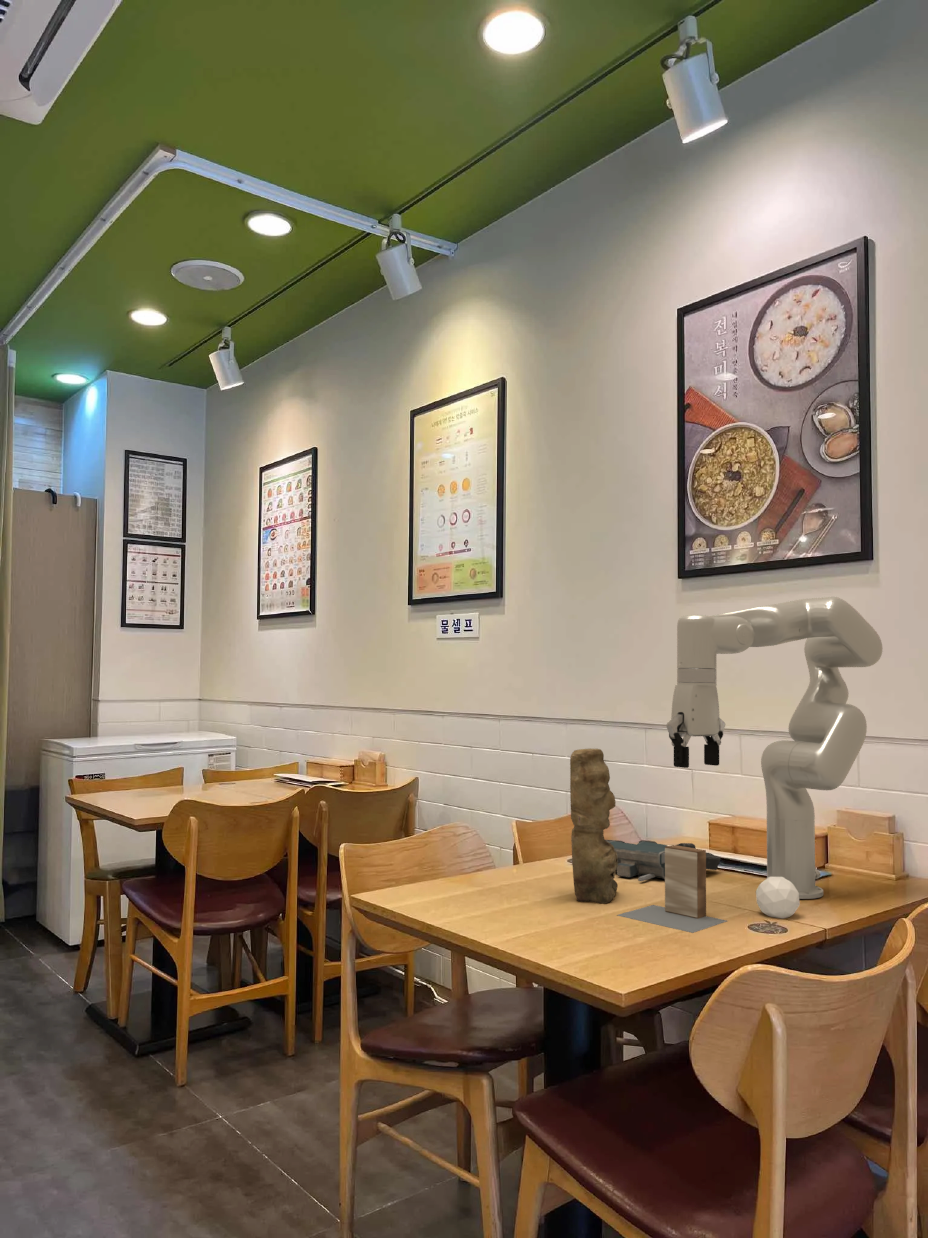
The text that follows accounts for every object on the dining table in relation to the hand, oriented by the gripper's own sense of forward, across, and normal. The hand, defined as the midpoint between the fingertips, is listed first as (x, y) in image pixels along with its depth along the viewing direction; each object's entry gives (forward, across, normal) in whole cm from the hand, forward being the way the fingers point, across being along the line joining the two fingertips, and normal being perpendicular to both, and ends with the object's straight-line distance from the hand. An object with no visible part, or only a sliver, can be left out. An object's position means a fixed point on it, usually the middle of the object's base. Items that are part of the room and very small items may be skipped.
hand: (696, 766), depth 180 cm
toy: (+28, -23, -29) cm, 47 cm away
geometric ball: (+28, -6, +13) cm, 31 cm away
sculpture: (+28, +10, -17) cm, 34 cm away
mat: (+27, +11, +3) cm, 30 cm away
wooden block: (+27, +7, +2) cm, 28 cm away
